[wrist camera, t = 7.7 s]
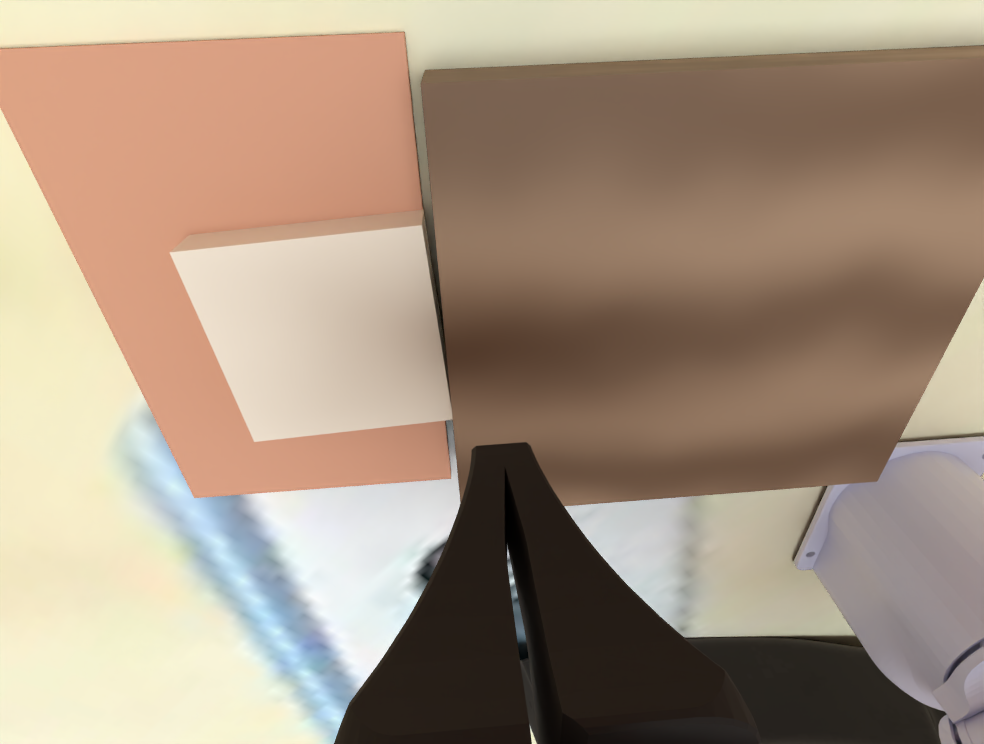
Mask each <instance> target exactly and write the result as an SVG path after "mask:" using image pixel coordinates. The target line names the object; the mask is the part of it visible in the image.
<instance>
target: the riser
mask: <svg viewBox="0 0 984 744" xmlns="http://www.w3.org/2000/svg"><path fill="white" fill-rule="evenodd" d="M421 92H422V102H423V113H424V123H425V134H426V144H427V155H428V165H429V176H430V186H431V197H432V207H433V218H434V228H435V239H436V249H437V260H438V270H439V281H440V291H441V302H442V312H443V323H444V333H445V344H446V354H447V365H448V375H449V386H450V396H451V407H452V417H453V428H454V438H455V449H456V459H457V470H458V480H459V491H460V501H462V498H463V495H464V491H465V488H466V484H467V479H468V475H469V470H470V464H471V451H472V449H473V448H474V447H475V446H480V445H493V444H507V443H520V442H527V443H528V444H529V445H531V448H532V451H533V453H534V455H535V457H536V460H537V462H538V464H539V466H540V468H541V469H542V471H543V473H544V475H545V477H546V478H547V480H548V482H549V484H550V485H551V487H552V489H553V490H554V492H555V494H556V495H557V497H558V498H559V500H560V501H561V503H562V504H563V506H573V505H585V504H598V503H611V502H624V501H637V500H649V499H662V498H675V497H688V496H700V495H713V494H726V493H739V492H751V491H764V490H777V489H790V488H802V487H815V486H828V485H841V484H853V483H866V482H877V481H878V479H879V477H880V475H881V473H882V472H883V470H884V468H885V466H886V464H887V462H888V460H889V458H890V456H891V454H892V452H893V450H894V449H895V447H896V445H897V443H898V441H899V439H900V437H901V435H902V433H903V431H904V429H905V427H906V426H907V424H908V422H909V420H910V418H911V416H912V414H913V412H914V410H915V408H916V406H917V404H918V403H919V401H920V399H921V397H922V395H923V393H924V391H925V389H926V387H927V385H928V383H929V382H930V380H931V378H932V376H933V374H934V372H935V370H936V368H937V366H938V364H939V362H940V360H941V359H942V357H943V355H944V353H945V351H946V349H947V347H948V345H949V343H950V341H951V339H952V337H953V336H954V334H955V332H956V330H957V328H958V326H959V324H960V322H961V320H962V318H963V316H964V315H965V313H966V311H967V309H968V307H969V305H970V303H971V301H972V299H973V297H974V295H975V293H976V292H977V290H978V288H979V286H980V284H981V282H982V280H983V278H984V45H981V46H958V47H936V48H913V49H891V50H868V51H845V52H823V53H800V54H778V55H755V56H732V57H710V58H687V59H665V60H642V61H620V62H597V63H574V64H552V65H529V66H507V67H484V68H461V69H439V70H425V72H424V75H423V78H422V81H421Z"/></svg>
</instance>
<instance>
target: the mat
mask: <svg viewBox="0 0 984 744" xmlns="http://www.w3.org/2000/svg"><path fill="white" fill-rule="evenodd" d="M0 108H1V110H2V112H3V114H4V116H5V118H6V120H7V122H8V124H9V126H10V128H11V130H12V132H13V134H14V136H15V138H16V140H17V142H18V144H19V146H20V148H21V150H22V152H23V154H24V156H25V158H26V160H27V162H28V164H29V166H30V168H31V170H32V172H33V174H34V176H35V178H36V180H37V182H38V184H39V186H40V188H41V190H42V192H43V194H44V196H45V198H46V200H47V202H48V204H49V206H50V208H51V210H52V213H53V215H54V217H55V219H56V221H57V223H58V225H59V227H60V229H61V231H62V233H63V235H64V237H65V239H66V241H67V243H68V245H69V247H70V249H71V251H72V253H73V255H74V257H75V259H76V261H77V263H78V265H79V267H80V269H81V271H82V273H83V275H84V277H85V279H86V281H87V283H88V285H89V287H90V289H91V291H92V293H93V295H94V297H95V299H96V301H97V303H98V305H99V307H100V309H101V311H102V313H103V315H104V317H105V319H106V321H107V323H108V325H109V327H110V329H111V331H112V333H113V335H114V337H115V339H116V341H117V343H118V345H119V347H120V349H121V351H122V353H123V355H124V357H125V359H126V361H127V363H128V365H129V367H130V369H131V371H132V373H133V375H134V377H135V379H136V382H137V384H138V386H139V388H140V390H141V392H142V394H143V396H144V398H145V400H146V402H147V404H148V406H149V408H150V410H151V412H152V414H153V416H154V418H155V420H156V422H157V424H158V426H159V428H160V430H161V432H162V434H163V436H164V438H165V440H166V442H167V444H168V446H169V448H170V450H171V452H172V454H173V456H174V458H175V460H176V462H177V464H178V466H179V468H180V470H181V472H182V474H183V476H184V478H185V480H186V482H187V484H188V486H189V488H190V490H191V492H192V494H193V496H194V498H201V497H214V496H227V495H241V494H254V493H267V492H280V491H294V490H307V489H320V488H333V487H346V486H360V485H373V484H386V483H399V482H413V481H426V480H439V479H451V469H450V459H449V450H448V440H447V431H446V421H437V422H428V423H419V424H410V425H401V426H392V427H383V428H374V429H365V430H357V431H348V432H339V433H330V434H321V435H312V436H303V437H294V438H285V439H276V440H267V441H259V442H254V440H253V438H252V436H251V434H250V431H249V429H248V427H247V425H246V422H245V420H244V418H243V416H242V413H241V411H240V409H239V407H238V405H237V402H236V400H235V398H234V396H233V393H232V391H231V389H230V387H229V384H228V382H227V380H226V378H225V375H224V373H223V371H222V369H221V367H220V364H219V362H218V360H217V358H216V355H215V353H214V351H213V349H212V346H211V344H210V342H209V340H208V338H207V335H206V333H205V331H204V329H203V326H202V324H201V322H200V320H199V317H198V315H197V313H196V311H195V309H194V306H193V304H192V302H191V300H190V297H189V295H188V293H187V291H186V288H185V286H184V284H183V282H182V279H181V277H180V275H179V273H178V271H177V268H176V266H175V264H174V262H173V259H172V257H171V255H170V253H169V252H171V251H172V250H173V249H174V248H175V247H176V246H177V245H178V244H180V243H181V242H182V241H183V240H184V239H185V238H186V237H187V236H189V235H192V234H201V233H211V232H220V231H229V230H238V229H248V228H257V227H266V226H276V225H285V224H294V223H303V222H313V221H322V220H331V219H341V218H350V217H359V216H368V215H378V214H387V213H396V212H406V211H415V210H423V203H422V193H421V184H420V174H419V165H418V155H417V146H416V136H415V127H414V117H413V108H412V98H411V89H410V79H409V70H408V60H407V51H406V41H405V32H394V33H369V34H345V35H321V36H297V37H272V38H248V39H224V40H200V41H176V42H151V43H127V44H103V45H79V46H55V47H30V48H6V49H0Z"/></svg>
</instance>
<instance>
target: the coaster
mask: <svg viewBox="0 0 984 744" xmlns="http://www.w3.org/2000/svg"><path fill="white" fill-rule="evenodd" d="M169 253H170V255H171V257H172V259H173V262H174V264H175V266H176V268H177V271H178V273H179V275H180V277H181V279H182V282H183V284H184V286H185V288H186V291H187V293H188V295H189V297H190V300H191V302H192V304H193V306H194V309H195V311H196V313H197V315H198V317H199V320H200V322H201V324H202V326H203V329H204V331H205V333H206V335H207V338H208V340H209V342H210V344H211V346H212V349H213V351H214V353H215V355H216V358H217V360H218V362H219V364H220V367H221V369H222V371H223V373H224V375H225V378H226V380H227V382H228V384H229V387H230V389H231V391H232V393H233V396H234V398H235V400H236V402H237V405H238V407H239V409H240V411H241V413H242V416H243V418H244V420H245V422H246V425H247V427H248V429H249V431H250V434H251V436H252V438H253V440H254V442H259V441H267V440H276V439H285V438H294V437H303V436H312V435H321V434H330V433H339V432H348V431H357V430H365V429H374V428H383V427H392V426H401V425H410V424H419V423H428V422H437V421H446V420H453V417H452V407H451V396H450V386H449V375H448V365H447V355H446V349H445V343H444V336H443V330H442V324H441V317H440V311H439V305H438V299H437V292H436V286H435V280H434V273H433V267H432V261H431V254H430V248H429V242H428V235H427V229H426V223H425V216H424V210H415V211H406V212H396V213H387V214H378V215H368V216H359V217H350V218H341V219H331V220H322V221H313V222H303V223H294V224H285V225H276V226H266V227H257V228H248V229H238V230H229V231H220V232H211V233H201V234H192V235H189V236H187V237H186V238H185V239H184V240H183V241H182V242H181V243H180V244H178V245H177V246H176V247H175V248H174V249H173V250H172V251H171V252H169Z"/></svg>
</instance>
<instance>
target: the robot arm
mask: <svg viewBox="0 0 984 744" xmlns="http://www.w3.org/2000/svg"><path fill="white" fill-rule="evenodd" d="M983 473H984V436H979V437H966V438H953V439H939V440H926V441H913V442H900V443H897V445H896V447H895V449H894V450H893V452H892V454H891V456H890V458H889V460H888V462H887V464H886V466H885V468H884V470H883V472H882V473H881V475H880V477H879V479H878V481H877V482H866V483H853V484H841V485H828V487H827V489H826V491H825V493H824V495H823V498H822V500H821V502H820V504H819V506H818V509H817V511H816V513H815V515H814V518H813V520H812V522H811V524H810V526H809V529H808V531H807V533H806V535H805V537H804V540H803V542H802V544H801V546H800V548H799V551H798V553H797V555H796V557H795V560H794V564H795V566H796V568H797V569H799V570H810V569H813V570H814V572H815V573H816V575H817V577H818V578H819V580H820V581H821V583H822V584H823V586H824V587H825V589H826V590H827V592H828V593H829V595H830V596H831V598H832V599H833V601H834V602H835V604H836V606H837V607H838V609H839V610H840V612H841V613H842V615H843V616H844V618H845V619H846V621H847V622H848V624H849V625H850V627H851V628H852V630H853V632H854V633H855V635H856V636H857V638H858V639H859V641H860V642H861V644H862V645H863V647H864V648H865V650H866V651H867V653H868V654H869V656H870V657H871V659H872V660H873V662H874V663H875V664H876V666H877V667H878V668H879V669H880V670H881V671H882V673H883V674H884V675H885V676H886V677H887V678H888V679H889V680H891V681H892V682H893V683H894V684H895V685H896V686H898V687H899V688H900V689H901V690H903V691H904V692H905V693H907V694H908V695H910V696H911V697H913V698H914V699H916V700H918V701H919V702H921V703H923V704H925V705H928V706H930V707H932V708H935V709H938V710H942V711H945V713H946V714H947V715H945V716H944V717H943V718H942V719H941V720H940V722H939V725H938V726H939V737H940V741H941V744H984V479H983V478H981V476H982V474H983ZM507 545H508V550H509V555H510V560H511V565H512V570H513V575H514V580H515V584H516V589H517V594H518V599H519V604H520V609H521V614H522V619H523V624H524V629H525V635H526V641H527V647H528V656H529V665H530V674H531V683H532V691H533V701H534V710H535V719H536V728H537V737H538V744H760V741H761V737H760V734H759V732H758V729H757V726H756V724H755V721H754V719H753V717H752V715H751V713H750V711H749V709H748V707H747V705H746V703H745V702H744V700H743V698H742V696H741V694H740V693H739V691H738V689H737V688H736V686H735V684H734V683H733V681H732V680H731V678H730V676H729V675H728V673H727V672H726V671H725V670H724V669H723V668H722V667H720V666H719V665H718V664H716V663H715V662H714V661H712V660H711V659H710V658H709V657H707V656H706V655H705V654H703V653H702V652H701V651H700V650H699V649H697V648H696V647H695V646H694V645H692V644H691V643H690V642H689V641H688V640H686V639H685V638H684V637H683V636H682V635H680V634H679V633H678V632H677V631H676V630H675V629H674V628H672V627H671V626H670V625H669V624H668V623H667V622H666V621H664V620H663V619H662V618H661V617H660V616H659V615H658V614H657V613H656V612H655V611H654V610H653V609H652V608H651V607H650V606H648V605H647V604H646V603H645V602H644V601H643V600H642V599H641V598H640V597H639V596H638V595H637V594H636V593H635V592H634V591H633V590H632V589H631V588H630V587H629V586H628V585H627V584H626V583H625V582H624V581H623V580H622V579H621V578H620V576H619V575H618V574H617V573H616V572H615V571H614V570H613V569H612V568H611V567H610V566H609V564H608V563H607V562H606V561H605V560H604V559H603V557H602V556H601V555H600V554H599V553H598V552H597V550H596V549H595V548H594V547H593V546H592V544H591V543H590V542H589V540H588V539H587V538H586V537H585V535H584V534H583V533H582V531H581V530H580V529H579V527H578V526H577V525H576V523H575V522H574V520H573V519H572V518H571V516H570V515H569V513H568V512H567V510H566V509H565V507H564V506H563V504H562V503H561V501H560V500H559V498H558V497H557V495H556V494H555V492H554V490H553V489H552V487H551V485H550V484H549V482H548V480H547V478H546V477H545V475H544V473H543V471H542V469H541V468H540V466H539V464H538V462H537V460H536V457H535V455H534V453H533V451H532V448H531V445H529V444H528V443H527V442H520V443H507V444H493V445H480V446H475V447H474V448H473V449H472V451H471V464H470V470H469V475H468V479H467V484H466V488H465V491H464V495H463V498H462V501H461V504H460V507H459V511H458V514H457V517H456V520H455V522H454V525H453V527H452V530H451V532H450V535H449V538H448V540H447V543H446V545H445V547H444V550H443V552H442V554H441V557H440V559H439V561H438V563H437V565H436V567H435V569H434V571H433V574H432V576H431V578H430V580H429V582H428V584H427V585H426V587H425V589H424V591H423V593H422V595H421V596H420V598H419V600H418V602H417V604H416V606H415V607H414V609H413V611H412V613H411V614H410V616H409V618H408V619H407V621H406V623H405V624H404V626H403V627H402V629H401V630H400V632H399V633H398V635H397V637H396V638H395V640H394V641H393V643H392V644H391V646H390V647H389V649H388V651H387V652H386V654H385V655H384V657H383V658H382V660H381V661H380V662H379V664H378V665H377V667H376V668H375V669H374V671H373V672H372V673H371V675H370V676H369V677H368V679H367V680H366V681H365V683H364V684H363V685H362V687H361V688H360V690H359V691H358V692H357V694H356V695H355V696H354V698H353V699H352V700H351V702H350V703H349V705H348V708H347V710H346V713H345V715H344V718H343V720H342V723H341V726H340V728H339V731H338V734H337V737H336V740H335V743H334V744H532V742H531V734H530V725H529V718H528V712H527V705H526V699H525V692H524V685H523V678H522V671H521V664H520V657H519V650H518V643H517V636H516V628H515V621H514V614H513V606H512V598H511V591H510V583H509V575H508V567H507Z"/></svg>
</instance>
